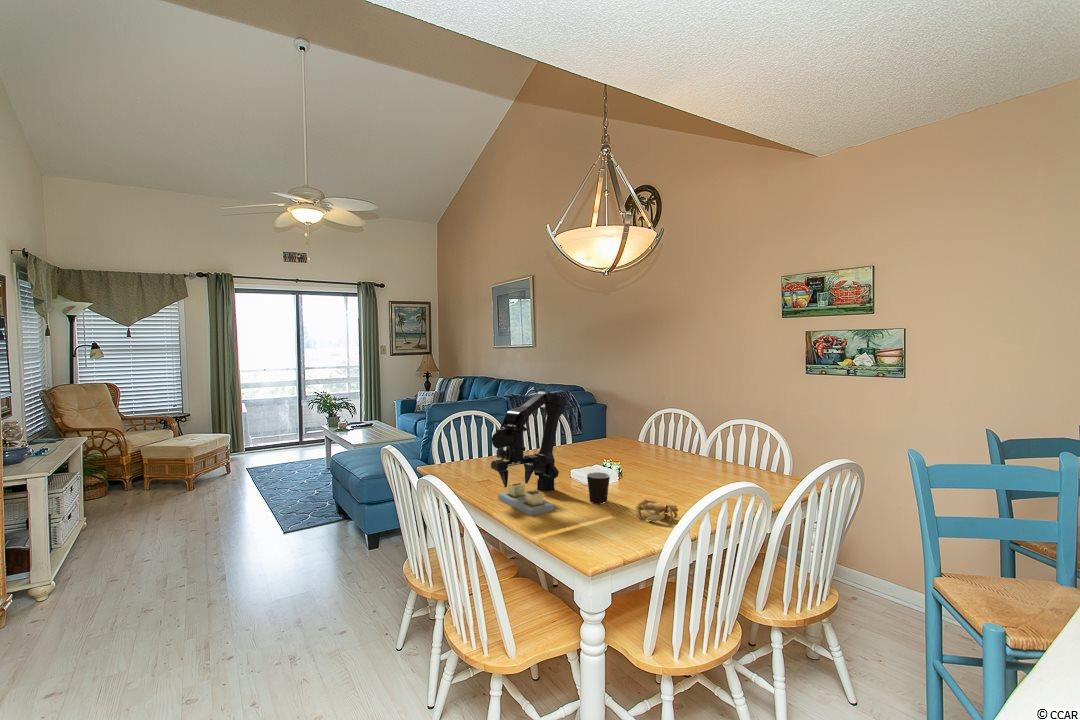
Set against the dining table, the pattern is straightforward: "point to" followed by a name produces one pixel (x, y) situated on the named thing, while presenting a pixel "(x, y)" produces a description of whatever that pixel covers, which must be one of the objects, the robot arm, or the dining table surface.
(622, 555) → the dining table surface
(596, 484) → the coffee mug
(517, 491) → the block
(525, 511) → the grey slotted plate
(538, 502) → the block
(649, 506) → the crab model
